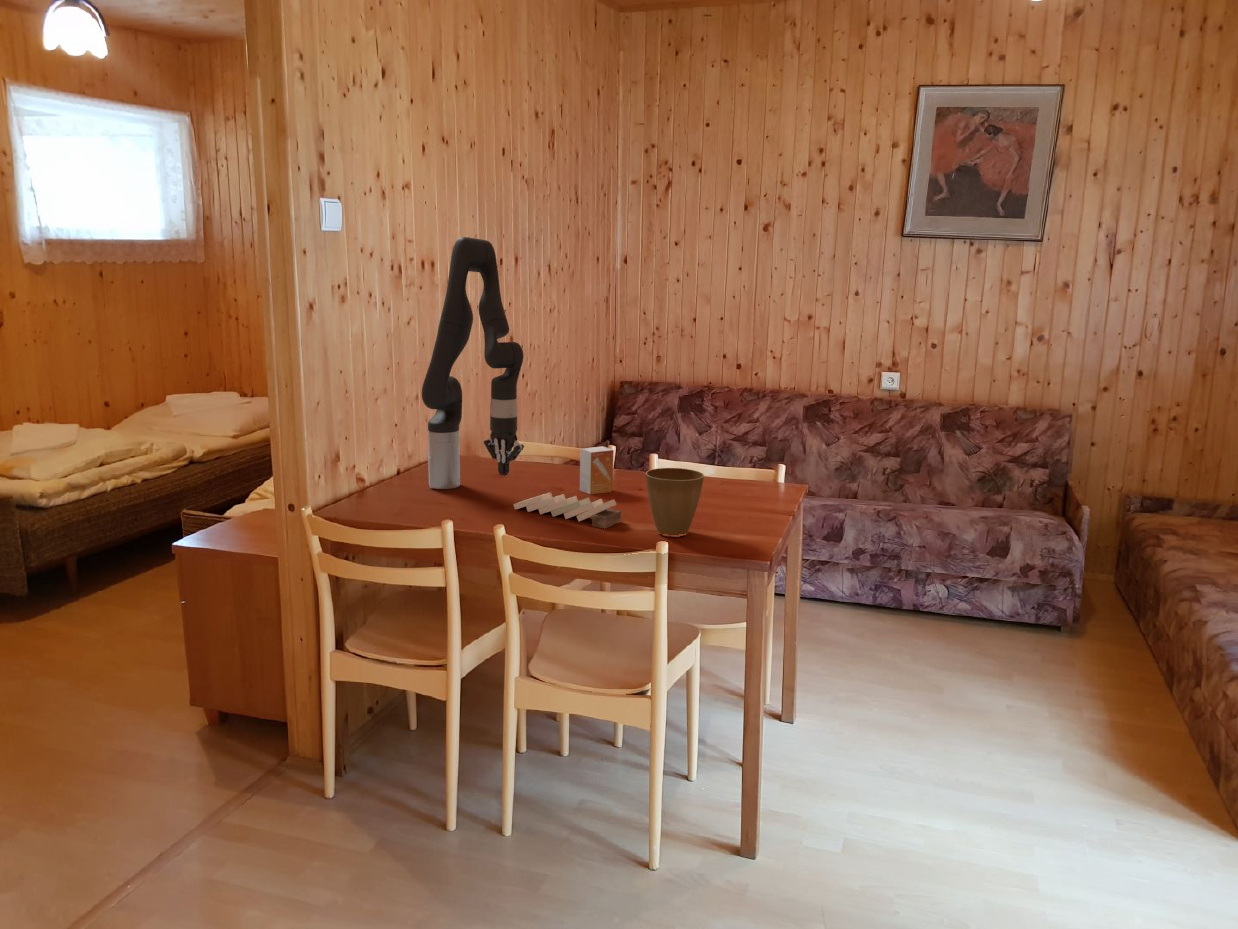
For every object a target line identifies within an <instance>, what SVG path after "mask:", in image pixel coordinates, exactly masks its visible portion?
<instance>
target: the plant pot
mask: <svg viewBox="0 0 1238 929" xmlns="http://www.w3.org/2000/svg"><path fill="white" fill-rule="evenodd" d="M704 478H705V474H704V473H703V472H700V471H698V470H694V469H688V468H681V467H680V468H679V467H661V468H660V467H659V468H653V469H649V470H647V471H646V472H645V480H646V482H645V483H646V488H647V495H648V496H647V497H648V501H649V505H650V510H651V514H652V518H653V522H654V524H655V528H656V531H657V533H658V532H659V533H661V534H668V535H679V534H685V533H687V534H688V533H689V530H690V527H691V525H692V524H693V523H692V522H693V520H694V517H695V515H696V511H697V509H698V504H699V502H700V497H701V492H702V489H703V484H704V480H705V479H704Z"/></svg>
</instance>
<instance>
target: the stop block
mask: <svg viewBox="0 0 1238 929" xmlns="http://www.w3.org/2000/svg"><path fill="white" fill-rule="evenodd" d="M621 518H622V511H621V510H617V509H613V508H608V509H606V510H604V511H601V512H599V513H597V514H594V515H592V516H591V527H593V528H597V529H603V528H604V530H605V528H606V529H607V528H610V527H612V526H614V524H615V523H617V522H619V521H621V520H622V519H621ZM621 522H622V521H621ZM619 523H620V522H619ZM617 524H618V523H617ZM615 525H616V524H615Z"/></svg>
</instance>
